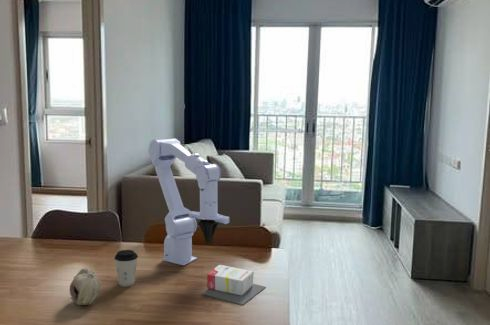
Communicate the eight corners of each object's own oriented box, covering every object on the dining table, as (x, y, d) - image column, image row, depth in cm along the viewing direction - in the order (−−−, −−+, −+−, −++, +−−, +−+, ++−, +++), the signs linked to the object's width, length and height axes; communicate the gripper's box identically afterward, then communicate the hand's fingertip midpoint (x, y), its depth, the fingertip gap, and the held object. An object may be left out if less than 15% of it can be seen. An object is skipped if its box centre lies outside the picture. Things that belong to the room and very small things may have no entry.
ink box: (206, 289, 138) (242, 296, 133) (206, 273, 137) (242, 280, 132) (219, 279, 146) (253, 285, 141) (219, 264, 145) (254, 270, 140)
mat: (201, 293, 135) (201, 292, 135) (226, 278, 147) (226, 277, 147) (242, 305, 128) (243, 304, 128) (265, 287, 140) (265, 286, 140)
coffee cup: (142, 280, 144) (142, 250, 142) (130, 289, 137) (129, 257, 136) (123, 277, 146) (122, 247, 145) (110, 286, 140) (109, 254, 138)
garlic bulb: (78, 295, 133) (77, 262, 132) (107, 296, 132) (106, 263, 131) (62, 310, 124) (61, 274, 122) (93, 312, 123) (92, 276, 121)
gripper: (183, 201, 149) (183, 241, 150) (220, 206, 141) (220, 249, 143) (195, 197, 155) (196, 236, 156) (232, 202, 148) (232, 243, 149)
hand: (208, 242), depth 150 cm, fingers closed
